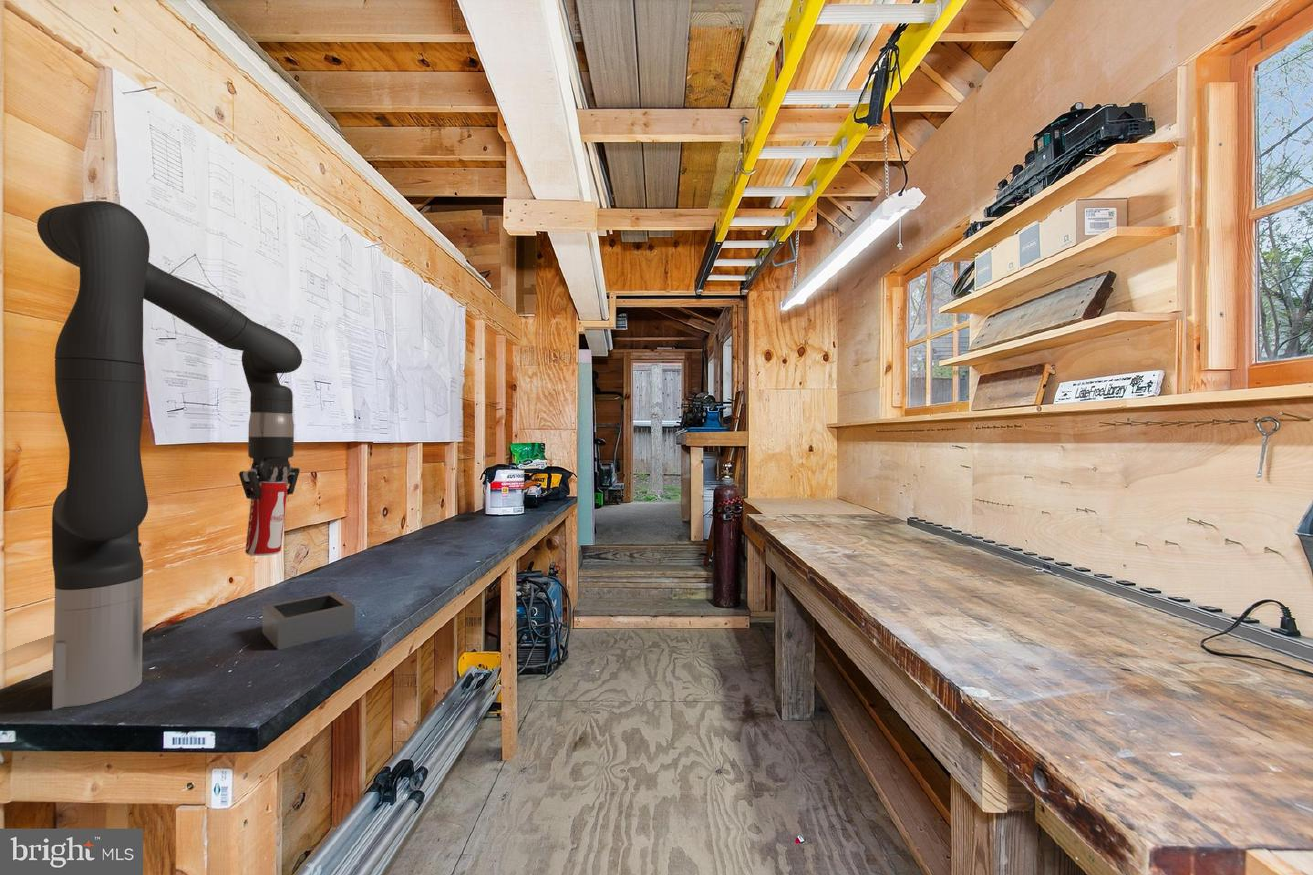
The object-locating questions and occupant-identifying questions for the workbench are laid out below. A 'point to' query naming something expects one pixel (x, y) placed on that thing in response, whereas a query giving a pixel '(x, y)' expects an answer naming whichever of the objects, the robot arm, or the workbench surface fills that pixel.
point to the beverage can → (266, 520)
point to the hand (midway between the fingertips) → (270, 517)
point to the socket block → (307, 620)
